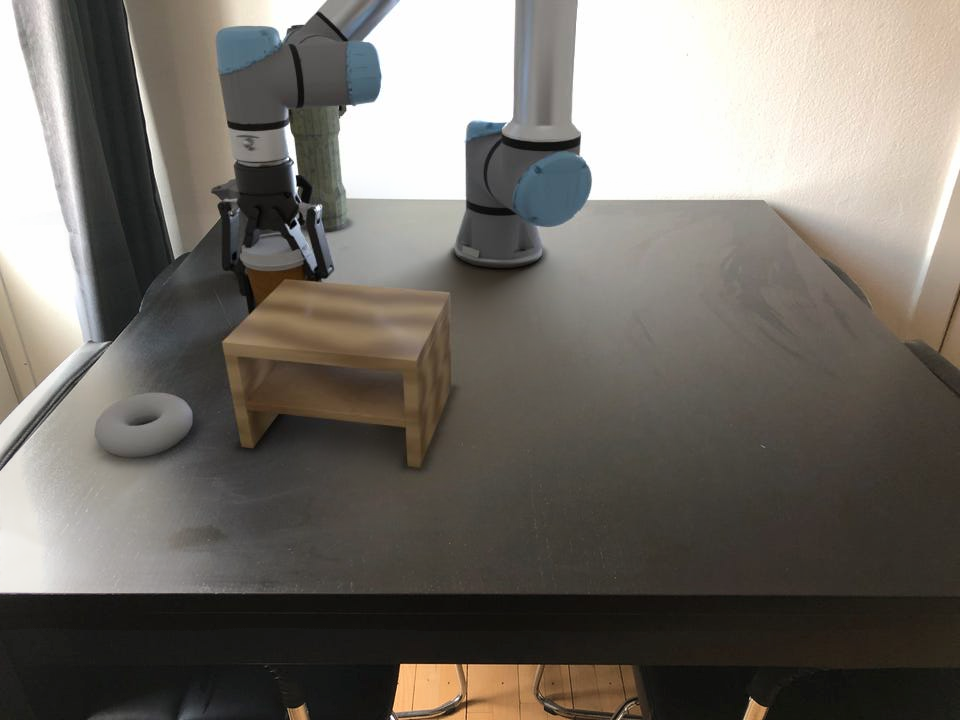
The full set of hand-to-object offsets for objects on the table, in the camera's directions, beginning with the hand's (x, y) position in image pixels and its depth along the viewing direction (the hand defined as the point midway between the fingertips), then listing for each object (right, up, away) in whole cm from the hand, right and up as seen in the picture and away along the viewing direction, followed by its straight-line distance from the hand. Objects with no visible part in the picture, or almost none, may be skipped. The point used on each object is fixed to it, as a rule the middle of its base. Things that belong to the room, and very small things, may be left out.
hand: (284, 318), depth 106 cm
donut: (-9, -15, -24) cm, 29 cm away
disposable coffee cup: (0, -1, 0) cm, 1 cm away
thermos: (-2, +20, +37) cm, 42 cm away
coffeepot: (-6, +8, +16) cm, 19 cm away
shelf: (+13, -12, -20) cm, 27 cm away
